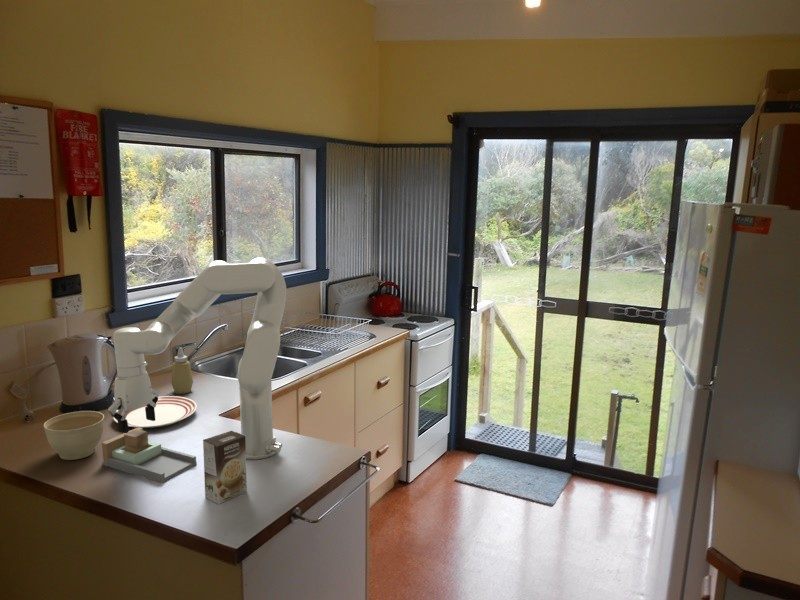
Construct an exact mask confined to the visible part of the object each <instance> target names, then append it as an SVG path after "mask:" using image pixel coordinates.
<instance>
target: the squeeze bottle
mask: <svg viewBox="0 0 800 600" xmlns="http://www.w3.org/2000/svg"><path fill="white" fill-rule="evenodd" d="M171 368H172V369H171V383H170V384H171V386H172V389H173V390H174V393H175V394H177V395H179V394H180V395H183V394H188V393H191V390H192V387H193V384H194V380H193V373H192V367H191V363H190V361H189V360H188V356H187V355H185V353H184V351H183V347H178V349H177V356H174V362H173V363H172V365H171Z"/></svg>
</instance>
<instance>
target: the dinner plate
mask: <svg viewBox="0 0 800 600" xmlns="http://www.w3.org/2000/svg"><path fill="white" fill-rule="evenodd" d="M145 407H147V406H146V405H145V406H143V407H140V408H138V409H135V410H133V411H130V412H128V414H127V416H126V418H125V419H126V420H127V422H128V428H129V427H130V428H138V427H140V428H143V429H152V428H160V427H161V428H162V427H165V426H169V425H172V424H176V423H178V422H181V421H183V420H185V419H187V418H189V417H190V416H191V415H193V414H194V413H195V412H196V411H197V409H198V405H197V403H196V402H195V401H194V400H193V399H190V398H189V397H188V398H187V397H185V396H184V397H183V396H177V395H176V396H175V395H171V396H170V395H167V396H166V395H164V396H163V395H162V396H161V395H160V396H158V401H157V402H156V407H155V408H154V410H155V421H151V420H147V419H146V412H145ZM116 412H118V410H116ZM122 414H123V412H122ZM122 414H121V416H122ZM112 418H113V421H114V422H115V423H117V424H118V420H117V419H115V418H114V417H112Z"/></svg>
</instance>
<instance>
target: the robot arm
mask: <svg viewBox="0 0 800 600" xmlns="http://www.w3.org/2000/svg"><path fill="white" fill-rule="evenodd" d="M254 293H257V297H256V301H255V306H254V311H253V315H252V317H251V321H250V325H249V326H248V330H247V333H246V341H245V345H244V349H243V353H242V356H241V358H240V359H239V362H238V365H237V366H238V367H237V382H238V385H239V389H238V390H239V411H240V413H239V415H240V434H242V435H244V436H245V441H246V460H260V459H267V458H270V457H272V456H274V455H275V454H279V453H280V452H281V451H282V447H283V443H281V442H277V437H276V436H274V429H273V428H274V426H273V394H272V393H273V391H272V390H273V389H272V379H273V374H274V371H275V367H276V362H277V359H278V355H279V351H280V347H281V332H280V331H281V325H282V320H283V317H284V312H285V307H286V302H287V284H286V281H285V277H284V275H283V273H282V272H281V270H280V269H279V268H278V266H277V265H276V264H274V262H272V261H271V260H269V259H267V258H265V257H256V258H253V259H252V260H250V261H249V262H243V263H228V262H227V261H225V260H220V259H219V260H213V261H212V262H210V263H209V264H207V266H206V267H205V268H204V269H203V270H202V271H201V272H200V273H199V274H198V275H196V277H195V278H194V279H193V280H192V281H191V282H190V283H189V284H188V285H187V286H186V287H185V288H184V289H182V291H180V293H179V294H178V295H176V297H175V298H174V300H173V302H172V303H170V305H168V306H167V307H166V308H165V310H164V311H163V312H161V314H160V315H158V317H157V318H155V319H154V320H153V321H152V322H151V324H150V325H148V327H147V328H146V329H144V330H141V329H140V328H138V327H131V326H130V327H122V328H119V329H117V330H115V331H114V332H113V335H112V337H113V338H112V339H113V347H114V354H115V355H114V356H115V363H116V364H115V365H116V372H117V377H115V379H114V386H113V387H114V389H113V395H114V397H113V398H114V399H113V400H114V402H113V403H112V404H111V405H110V406H109V407H108V409H107V411H108V413H109V414H110V415H111V417H112V418H113V417H114V418H115V419H117V420H118V423H117V426H118V431H119V432H120V433H121V434H123V433H128V432H129V431H130V430H129V426H128V422H127V420H126V419H125V418H126V416H127V414H128V412H130V411H133V410H135V409H138V408H140V407H143V406H145V405H146V406H147V407H145V412H146V419H147V420H151V421H155V410H154V408H155V407H156V402H157V401H158V397H160V393H161V391H160V390H159V389H154V388H152V384H151V383H152V382H151V379H150V375H149V373H148V371H147V370H146V369H147V368H146V367H147V366H148V362H147V361H145V355H158V354H159V355H160V354H161V353H164V352H165V351H166V350H167V348H168V346H169V345H170V343H171V342H172V340H173V339H174V338H175V337H176V336H177V334H178V333H180V331H181V330H183V328H184V327H185V326H187V325H188V323H190V322H191V321H192V320H195V319H196V318H199V317H200V316H202V315H203V314H204V313H205V312H206V311H207V310H208V309H209V307H210V306H211V305H212V304H214V302H215V301H216V300H217V299H219V297H220V296H221V295H234V294H235V295H237V294H254ZM117 410H118V412H116V411H117ZM122 412H123V414H122ZM121 414H122V416H121Z"/></svg>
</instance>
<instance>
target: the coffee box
mask: <svg viewBox="0 0 800 600" xmlns="http://www.w3.org/2000/svg"><path fill="white" fill-rule="evenodd" d="M202 444H203V445H202V447H203V471H204V472H203V474H204V497H205V498H206V499H209V500H210V501H212V502H214V503H215V504H218V505H219V504H220V505H221V504H222V503H224V502H227V501H229V500H231V499H234V498H236V497H238V496H240V495H242V494H245V493H247V492H248V487H247V486H248V484H247V482H248V481H247V459H246V441H245V436H244V435H242V434H241V432H240V433H239V432H236V431H233V430H230V431H226V432H223V433H221V434H217V435H214V436H211V437H208V438H204V439H203V440H202Z"/></svg>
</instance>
